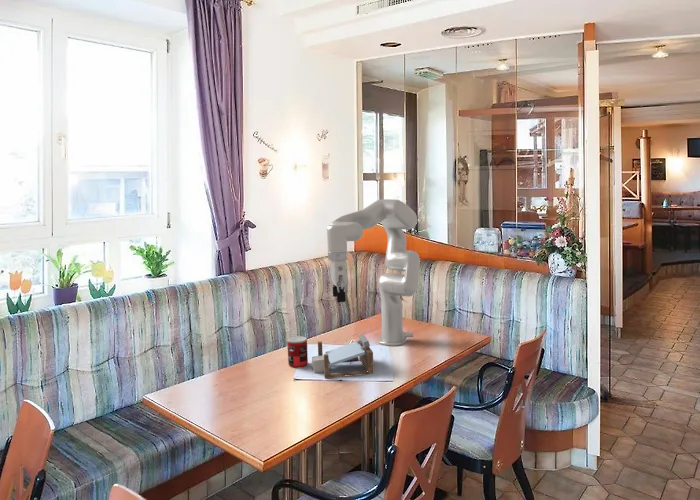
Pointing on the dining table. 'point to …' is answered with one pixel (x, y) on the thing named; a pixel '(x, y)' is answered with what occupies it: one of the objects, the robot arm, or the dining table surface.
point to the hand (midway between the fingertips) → (339, 299)
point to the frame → (365, 359)
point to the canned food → (297, 351)
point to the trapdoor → (348, 351)
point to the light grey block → (318, 364)
